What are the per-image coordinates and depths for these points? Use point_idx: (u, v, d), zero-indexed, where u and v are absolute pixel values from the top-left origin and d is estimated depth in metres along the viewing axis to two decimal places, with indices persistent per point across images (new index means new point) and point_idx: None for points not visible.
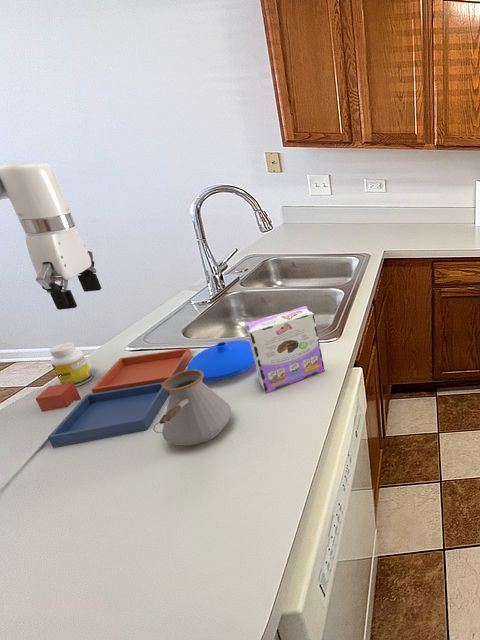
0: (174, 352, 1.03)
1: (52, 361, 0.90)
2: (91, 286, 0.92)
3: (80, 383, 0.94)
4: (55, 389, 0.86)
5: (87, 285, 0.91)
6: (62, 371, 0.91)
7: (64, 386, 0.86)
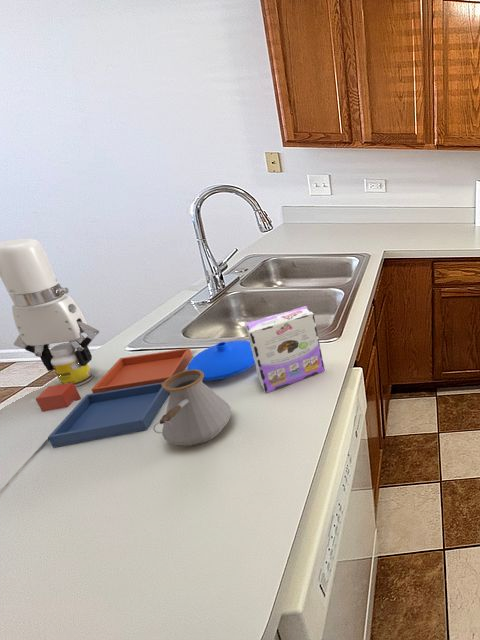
0: (174, 352, 1.03)
1: (52, 361, 0.90)
2: None
3: (80, 383, 0.94)
4: (55, 389, 0.86)
5: None
6: (62, 371, 0.91)
7: (64, 386, 0.86)
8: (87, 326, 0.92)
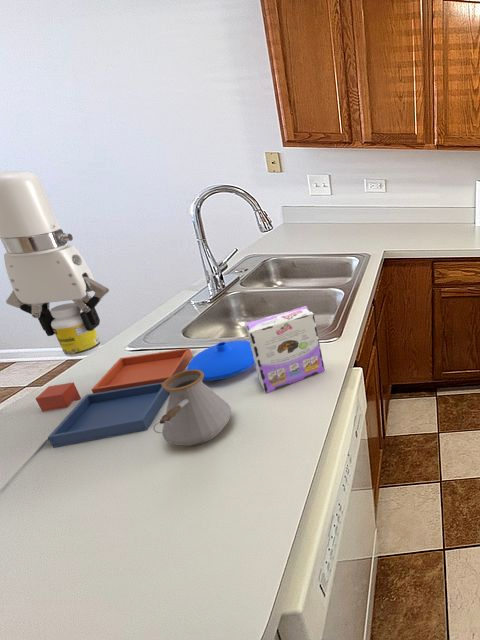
0: (174, 352, 1.03)
1: (53, 324, 0.75)
2: None
3: (86, 351, 0.78)
4: (55, 389, 0.86)
5: None
6: (65, 335, 0.76)
7: (64, 386, 0.86)
8: (95, 282, 0.77)
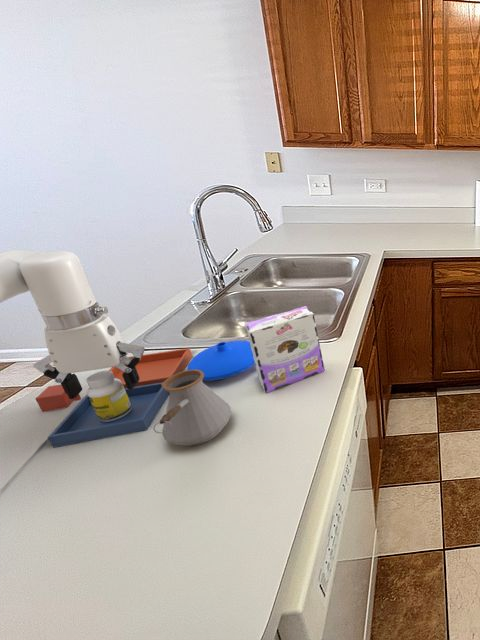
0: (174, 352, 1.03)
1: (89, 393, 0.79)
2: None
3: (119, 416, 0.82)
4: (55, 389, 0.86)
5: None
6: (100, 403, 0.80)
7: None
8: (129, 345, 0.80)
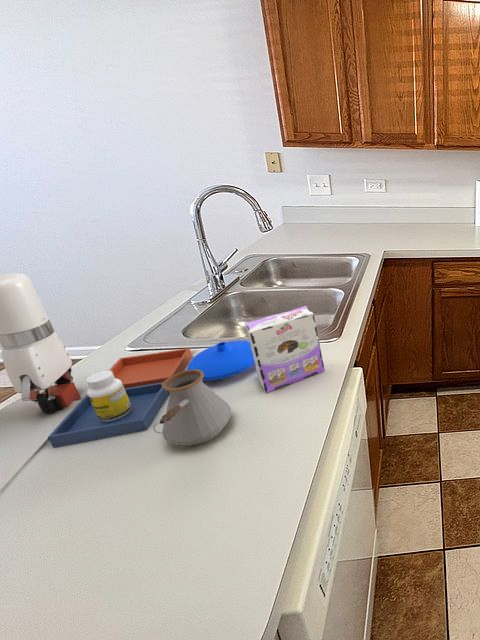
0: (174, 352, 1.03)
1: (89, 393, 0.79)
2: None
3: (119, 416, 0.82)
4: (55, 389, 0.86)
5: None
6: (100, 403, 0.80)
7: (64, 386, 0.86)
8: None
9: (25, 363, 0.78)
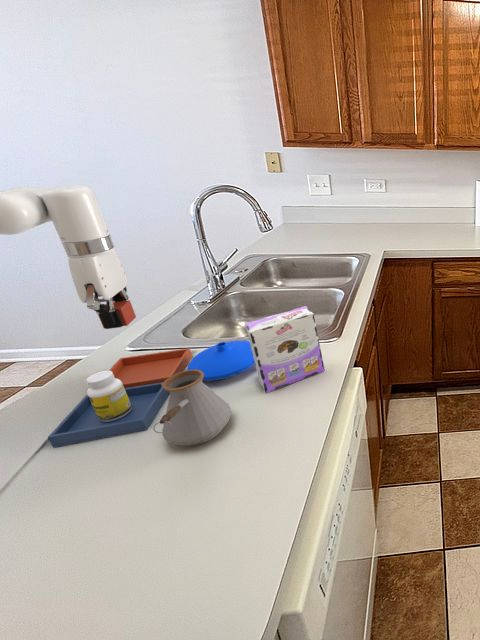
0: (174, 352, 1.03)
1: (89, 393, 0.79)
2: None
3: (119, 416, 0.82)
4: (113, 304, 0.89)
5: None
6: (100, 403, 0.80)
7: (122, 303, 0.90)
8: None
9: (90, 272, 0.81)
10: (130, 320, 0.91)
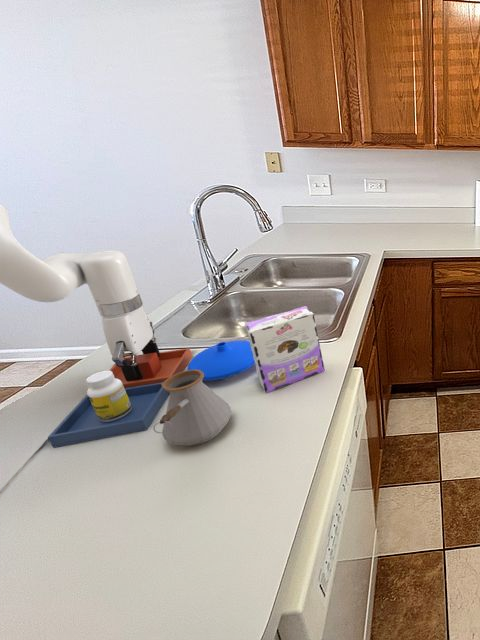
0: (174, 352, 1.03)
1: (89, 393, 0.79)
2: None
3: (119, 416, 0.82)
4: (142, 357, 0.96)
5: (148, 353, 1.00)
6: (100, 403, 0.80)
7: (149, 355, 0.97)
8: None
9: (121, 330, 0.88)
10: (157, 371, 0.97)
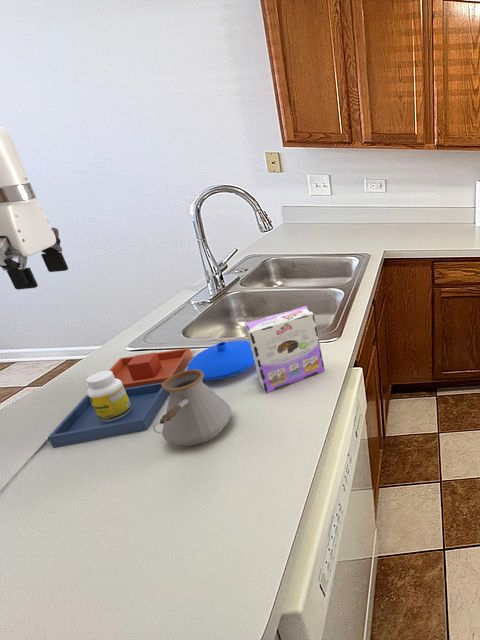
0: (174, 352, 1.03)
1: (89, 393, 0.79)
2: (56, 266, 0.84)
3: (119, 416, 0.82)
4: (142, 357, 0.96)
5: (52, 265, 0.84)
6: (100, 403, 0.80)
7: (149, 355, 0.97)
8: None
9: (3, 222, 0.72)
10: (157, 371, 0.97)
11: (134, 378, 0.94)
